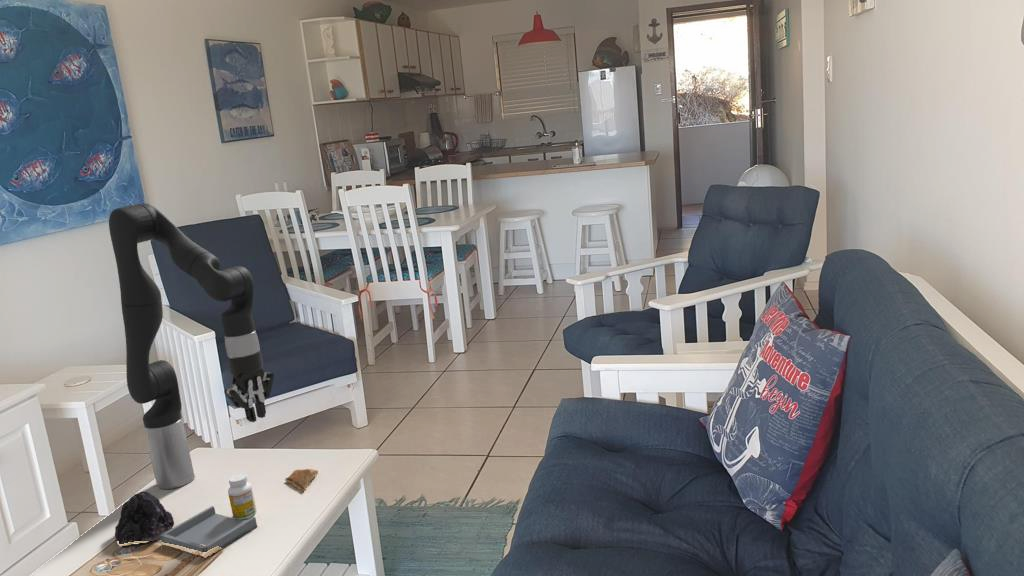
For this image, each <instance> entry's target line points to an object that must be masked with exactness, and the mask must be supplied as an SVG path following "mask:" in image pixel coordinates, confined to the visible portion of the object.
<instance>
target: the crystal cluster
mask: <svg viewBox="0 0 1024 576" xmlns="http://www.w3.org/2000/svg"><path fill="white" fill-rule="evenodd" d="M174 527H175V522H174V517H173V515H172V513H171V512H169V511H167V510H166V509H165V507H164V505H163V504H162V503H161V502H160V500H159V498H157V497H156V496H154V495H153V494H151V493H150V492H149V491H145V490H142V491H139V492H137V493H134V495H132V496H131V497H130V498H129V500H127V501H126V502H124V504H123V505H122V507H121V511H120V518H119V520H118V523H117V524H116V526H115V530H114V537H115V541H116V540H117V541H119V544H124V543H128V542H134V541H152V542H154V541H156V540H161V536H160V535H161V534H163V533H165V532H167V531H168V530H170V529H172V528H174ZM117 541H116V542H117Z"/></svg>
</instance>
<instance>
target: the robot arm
mask: <svg viewBox="0 0 1024 576" xmlns="http://www.w3.org/2000/svg"><path fill="white" fill-rule="evenodd" d="M108 229H109V234H110V239H111V244H112V248H113V249H112V250H113V254H114V258H115V263H116V267H117V274H118V282H119V288H120V289H119V291H120V304H121V305H120V306H121V313H122V318H123V319H122V320H123V325H124V336H125V349H126V350H125V352H126V365H125V366H126V384H127V389H128V392H129V395H130V397H131V399H132V400H133V401H134V402H135V403H138V404H139V405H140V404H141V405H142V404H146V403H150V402H153V401H154V403H153V404H152V406H151V407H150V408H149V409H148V410H147V411H146V412H145V413H144V414H143V416H142V421H143V427H144V430H145V434H146V438H147V443H148V447H149V448H148V449H149V451H148V453H149V457H150V462H151V466H152V470H153V474H154V479H155V483H156V484H157V487H158V488H159V489H160V490H161V489H162V490H170V489H176V488H179V487H182V486H185V485H187V484H190V483H192V481H193V480H194V479H195V477H196V476H195V473H194V468H193V463H192V459H191V458H192V457H191V453H190V448H189V444H188V440H187V439H188V438H187V435H186V430H185V425H184V422H183V417H182V399H181V393H180V387H179V382H178V376H177V373H176V370H175V368H174V367H173V365H172V364H171V363H170V362H169V361H166V360H162V359H161V360H156V361H154V362H151V363H150V352H151V349H152V346H153V344H154V341H155V339H156V338H157V337H156V336H157V333H159V329H160V327H161V325H162V321H163V316H164V315H163V314H164V311H163V301H162V293H161V290H160V288H159V286H158V285H157V284H156V282H155V281H154V279H153V278H152V277H151V276H150V275H149V274H148V273H147V271H146V270H145V268H144V267H143V266H142V263H141V261H140V256H139V250H138V244H141V243H144V242H148V241H152V240H155V241H156V242H160V243H161V244H163V245H165V246H166V247H167V248H168V251H169V255H170V257H171V260H172V262H173V264H175V265H176V267H177V268H178V269H180V270H181V271H182V272H183V273H185V274H187V275H188V276H190V277H191V278H192V279H194V280H196V281H197V283H198V284H199V286H200V287H201V288H202V290H203V291H204V292H205V293H206V294H207V295H208V296H209V298H211V299H212V300H214V301H217V302H222V303H223V302H228V301H230V306H229V307H227V309H225V310H223V312H222V313H221V315H220V320H221V326H222V331H223V335H224V345H225V346H224V347H225V351H226V355H227V360H228V366H229V372H230V374H232V384H231V386H229V388H226V389H225V390H224V394H225V395H226V396H227V397H228V399H229V400H230V401H231V402H232V404H233V405H234V406H235V407H236V408H239V409H241V408H242V409H244V412H245V418H246V420H247V421H248V422H251V423H255V422H257V418H258V419H259V418H260V419H263V418H265V417H266V413H267V411H266V404H265V400H266V399H267V398H270V397H271V393H272V388H273V383H274V378H275V373H273V372H267V371H266V372H265V370H264V368H263V367H264V363H263V357H262V352H261V351H262V350H261V347H260V342H259V337H258V334H257V332H256V327H255V322H254V317H253V309H254V297H255V296H254V295H255V283H254V278H253V276H252V274H251V272H250V270H248V269H247V268H246V267H244V266H240V265H239V266H238V265H237V266H233V267H229V268H226V269H223V270H221V267H222V266H221V262H220V259H219V258H218V257H217V256H215V255H214V254H213V253H211V252H210V251H208V250H207V249H205V248H203V247H202V246H200V245H199V244H198V243H196V242H194V241H192V240H191V238H189V237H188V236H186V234H184V233H183V231H182V230H181V229H179V228H178V227H177V226H176V225H175V224H174V223H173V222H172V221H171V220H170V219H169V218H168V217H167V216H165V214H163V213H162V212H161V211H160V210H159V209H158V208H156V206H153V205H151V204H149V203H137V204H132V205H126V206H122V207H117V208H114V209H113V210H111V212H110V214H109V218H108ZM253 400H254V401H253Z"/></svg>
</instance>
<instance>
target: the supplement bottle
mask: <svg viewBox="0 0 1024 576" xmlns="http://www.w3.org/2000/svg"><path fill="white" fill-rule="evenodd" d="M247 477H248V476H247V474H246V473H239V474H234V475H233V476H231V477H229V478H228V483H229V488H228V490H227V495H228V499H229V505H230V507H231V508H230V509H231V513H232V518H234V519H238V520H242V521H245V520H249V519H250V518H252V517H255V515H256V514H257V505H256V501H255V495H254V491H253V487H252V484H251V483H250V482H248V478H247Z"/></svg>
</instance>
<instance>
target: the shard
mask: <svg viewBox="0 0 1024 576" xmlns="http://www.w3.org/2000/svg"><path fill="white" fill-rule="evenodd" d="M318 474H319V471H318V469H317V470H316V469H312V468H310V469H309V468H306V469H295V470H293V471H292V473H290V474H289V476H288V477H286V478H285V479H284V480H285V482H286V483H289V484H291V485H292V486H294V487H295V488H296V489H298V490H299V491H301V492H304V491H305V492H306V490H307V489H308V487H307V486H309V485H310V484H311V482H312V481H313V480H314V479H315V477H316V476H317V475H318ZM315 475H316V476H315ZM312 479H313V480H312ZM311 480H312V481H311ZM310 481H311V482H310ZM309 483H310V484H309ZM306 488H307V489H306Z"/></svg>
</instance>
